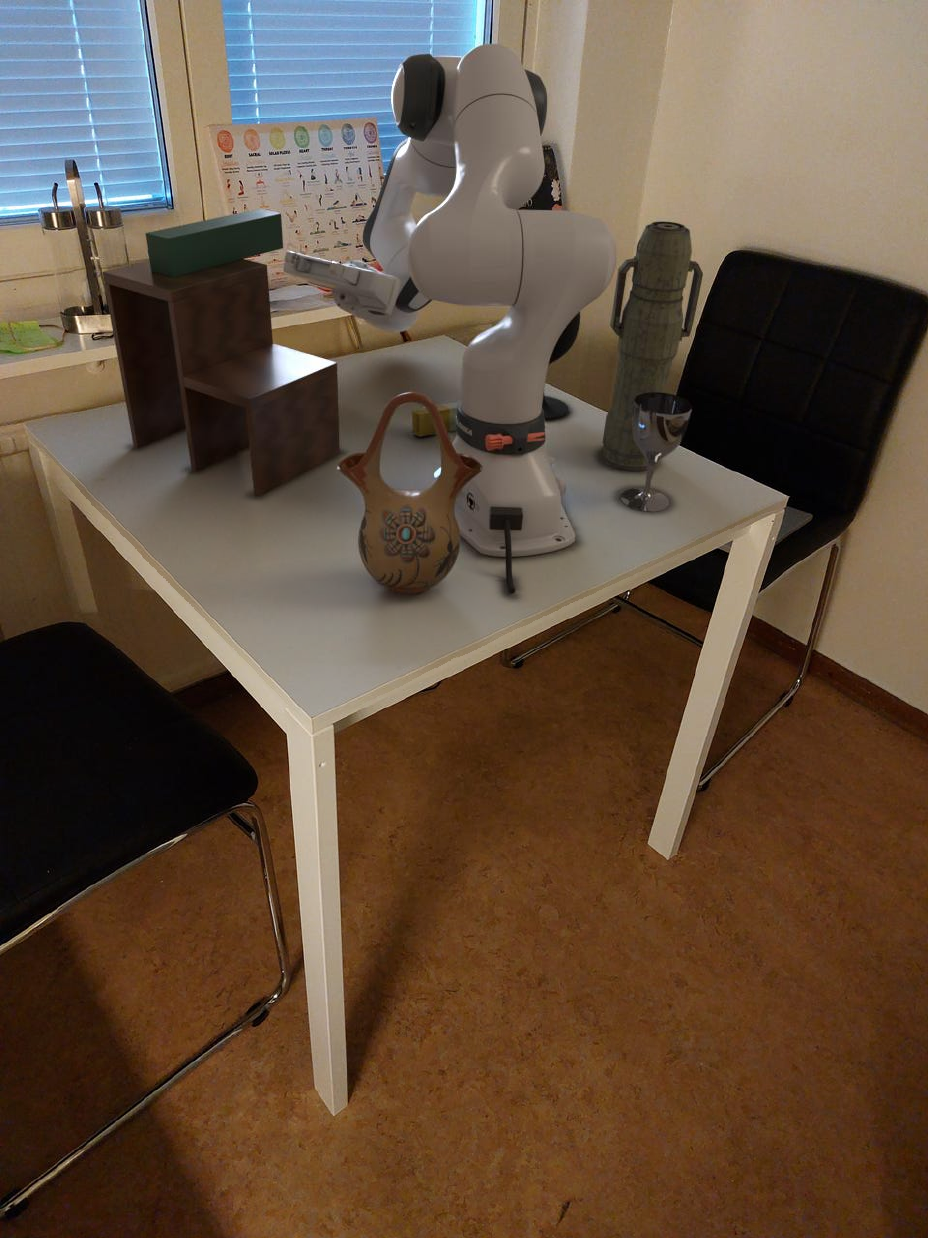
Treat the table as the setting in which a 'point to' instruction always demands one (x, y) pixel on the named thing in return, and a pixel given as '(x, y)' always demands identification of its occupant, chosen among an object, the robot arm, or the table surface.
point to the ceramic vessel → (409, 510)
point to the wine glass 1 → (566, 340)
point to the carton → (214, 242)
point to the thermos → (648, 330)
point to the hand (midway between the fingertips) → (310, 261)
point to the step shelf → (220, 371)
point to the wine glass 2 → (656, 441)
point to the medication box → (424, 422)
